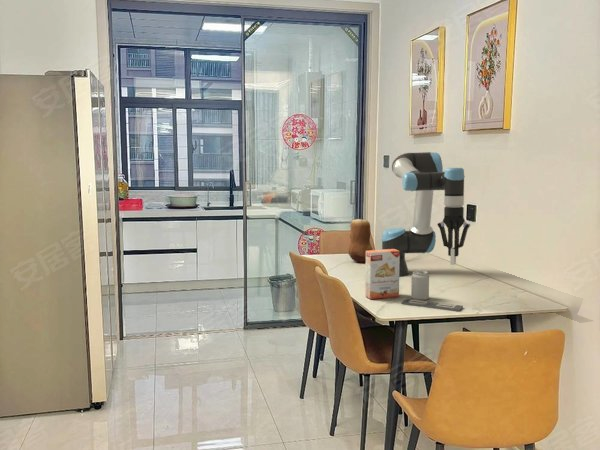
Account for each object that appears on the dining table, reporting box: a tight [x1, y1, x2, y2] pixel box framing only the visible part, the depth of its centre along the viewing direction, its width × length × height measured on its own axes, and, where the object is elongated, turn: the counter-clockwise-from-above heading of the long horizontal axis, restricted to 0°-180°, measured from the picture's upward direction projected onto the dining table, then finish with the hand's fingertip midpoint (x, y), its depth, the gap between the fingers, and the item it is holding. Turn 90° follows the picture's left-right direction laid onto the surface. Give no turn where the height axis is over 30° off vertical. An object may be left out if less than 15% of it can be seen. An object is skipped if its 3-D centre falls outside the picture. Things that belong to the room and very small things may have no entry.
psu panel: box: [401, 298, 464, 313], centre depth 230 cm, size 6×24×1 cm, turn 58°
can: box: [410, 270, 430, 301], centre depth 240 cm, size 8×8×12 cm
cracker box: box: [365, 249, 400, 300], centre depth 244 cm, size 14×6×21 cm, turn 106°
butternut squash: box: [348, 218, 374, 264], centre depth 320 cm, size 14×13×25 cm
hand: (453, 263), depth 226 cm, fingers closed
